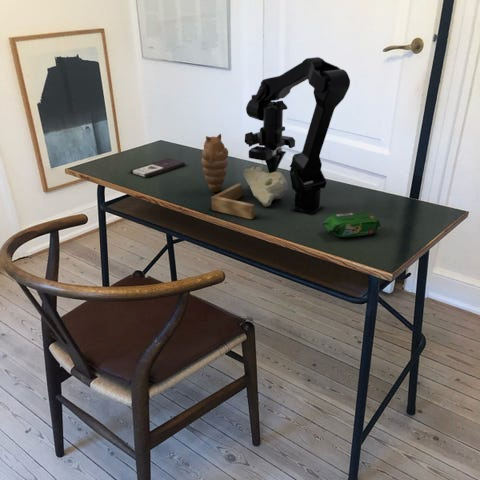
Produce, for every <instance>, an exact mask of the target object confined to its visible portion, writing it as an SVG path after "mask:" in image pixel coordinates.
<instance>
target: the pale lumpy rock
mask: <svg viewBox="0 0 480 480" xmlns="http://www.w3.org/2000/svg"><path fill="white" fill-rule="evenodd" d="M263 166H264V165H259V166H254V165H253V166H252V167H247V168H245V169H243V170H242V175H243V177H244V179H245V181H246V183H247V184H248V186H249V188H250V190H251V193H252V196H253V197H254V198H256V199H257V201H259V202H260V203H261V204H262V206H264V207H265V208H268V207H270V206H271V205H272V202H273V201H274V200H280V199H282V198H283V196H284V195H285V194H286V193H287V191H288V186H289V185H288V182H287V179H286V177H285V176H284V174H283V173H281V172H280V171H276V172H272V173H269V172H266V171H265V170H264V168H263Z"/></svg>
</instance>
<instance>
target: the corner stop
mask: <svg viewBox="0 0 480 480" xmlns="http://www.w3.org/2000/svg"><path fill="white" fill-rule="evenodd" d="M242 197H243V184H242V183H239V182H237V183H236V184H234V185H232V186H230V187H228V188H226V189H224V190H222V191H219V193H218V192H217V194H215V195H213V196H211V197H210V198H211V199H210V200H211V211H214V212H218V213H222V214H228V215H231V216H235V217H239V218H244V219H248V220H253V219H254V218H255V204H253V203H248V202H244V201H239V199H240V198H242Z"/></svg>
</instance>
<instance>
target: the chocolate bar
mask: <svg viewBox="0 0 480 480" xmlns="http://www.w3.org/2000/svg"><path fill="white" fill-rule="evenodd" d="M184 166H186V165H185V162H184V161H180V160H176V159H172V158H170V157H169V158H165V159H160V160H158V161H154V162H151V163H148V164H145V165H142V166H137V167H135V168H132V169H130V170H129V171H130V174H134V175H137V176H141V177H144V178H151V177H152V176H157V175H159V174H162V173H165V172H168V171H169V172H170V171H171V170H174V169H178V168H181V167H184Z"/></svg>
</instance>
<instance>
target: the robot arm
mask: <svg viewBox="0 0 480 480" xmlns="http://www.w3.org/2000/svg"><path fill="white" fill-rule="evenodd" d="M305 81H308V84H309V85H310V87H312V88H313V97H314V100H315V107H314V110H313V113H312V117H311V121H310V124H309V127H308V131H307V134H306V137H305V141H304V144H303V147H302V150H301V152H298V153H294V154H293V156H292V159H291V163H290V164H289V168H290V169H289V177H290V183H291V188H292V190H293V191H294V192H295V193H294V207H293V209H292V210H293V211H296V212H300V213H305V214H308V215H313V214H315V213H316V212H318V211H319V210H321V209H322V207H323V206H322V205H321V204H320V203H321V190H322V189H325V188H326V186H327V184H328V183H327V182H328V181H327V180H326V178H325V176H324V175H325V174H324V173H323V171H322V165H323V164H322V161H321V157H320V155H321V152H322V149H323V146H324V143H325V140H326V138H327V137H326V136H327V134H328V130H329V127H330V125H331V121H332V118H333V114H334V112H335V109H336V108H337V106H339V104H340V103H341V102H342V101H343V100H344V99H345V97H346V95H347V92H348V91H349V89H350V87H351V86H350V85H351V79H350V76H349V74H348V72H347V71H346V70H345V69H343V68H342V69H341V68H340V67H338V66H337V65H335V64H332V63H329V62H328V61H326V60H325V59H323V58H321V57H319V56H316V57H307V58H305V59H304V60H302V61H301V62H300V63H298V64H297V65H295V66H293V67H291V68H289V69H288V70H287V71H285V72H284V73H282V74H280V75H277V76H272V77H268V78H264V79H262V80H261V82H260V85H259V87H258V90H257V92H256V94H251V99H250V100H249V101H248V102H247V104H246V106H245V111H246V114H247V116H248V117H249V118H251V119H255V120H258V121H260V122H262V123H263V124H262V125H263V126H262V127H260V128H259V131H258V132H253V131H250V132H246V133H245V134H244V143H245V144H246V145H248V147H249V148H250V147H252V148H250V149H249V150H248V159H251V160H257V161H263V162H265V164H266V167H267V170H268V173H272V172H277V170H278V168H279V166H280V164H281V162H282V160H283V158H284V156H285V155H286V153H287V151H285V150H283V148H282V147H285V146H287V147H288V149H293V148H294V147H296V140H295V138H294V137H293V136H286V135H283V132H284V131H286V126H283V124H284V123H283V121H284V120H283V119H284V117H283V116H284V111H285V110H288V105H287V104H285V102H284V100H283V99H284V98H286V97H287V96H288V95H289V94H291V90H292V89H293V88H294V87H296V86H298V85H300V84H301V83H304V82H305ZM255 145H256V146H255ZM253 146H254V147H253Z"/></svg>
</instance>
